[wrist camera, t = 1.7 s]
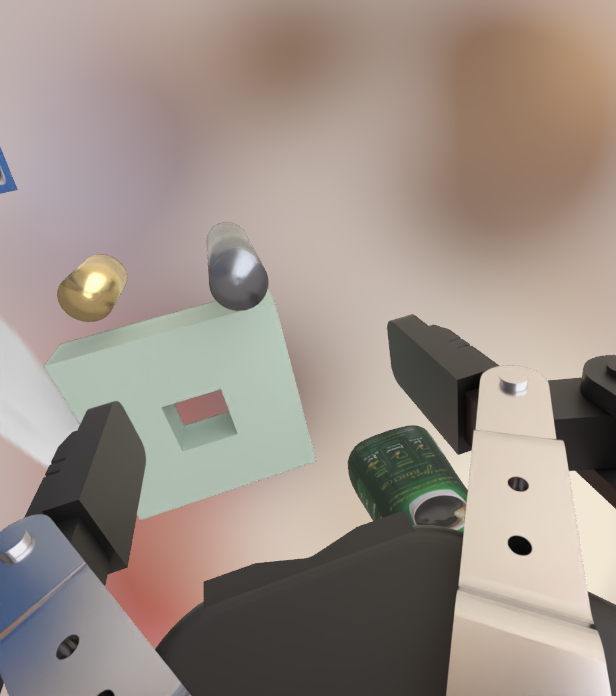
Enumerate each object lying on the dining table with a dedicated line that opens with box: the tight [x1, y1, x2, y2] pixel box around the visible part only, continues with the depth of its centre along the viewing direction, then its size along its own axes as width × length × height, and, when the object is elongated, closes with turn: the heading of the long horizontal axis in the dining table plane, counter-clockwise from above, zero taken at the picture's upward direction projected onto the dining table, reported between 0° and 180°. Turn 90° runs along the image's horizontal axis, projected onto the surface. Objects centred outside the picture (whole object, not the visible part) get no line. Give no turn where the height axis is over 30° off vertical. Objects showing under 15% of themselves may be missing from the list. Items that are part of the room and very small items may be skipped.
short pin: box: [57, 254, 127, 322], centre depth 26 cm, size 3×3×5 cm
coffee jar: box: [348, 426, 468, 532], centre depth 34 cm, size 10×8×19 cm
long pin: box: [207, 222, 268, 311], centre depth 24 cm, size 3×3×10 cm
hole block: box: [44, 289, 316, 520], centre depth 32 cm, size 16×16×4 cm
